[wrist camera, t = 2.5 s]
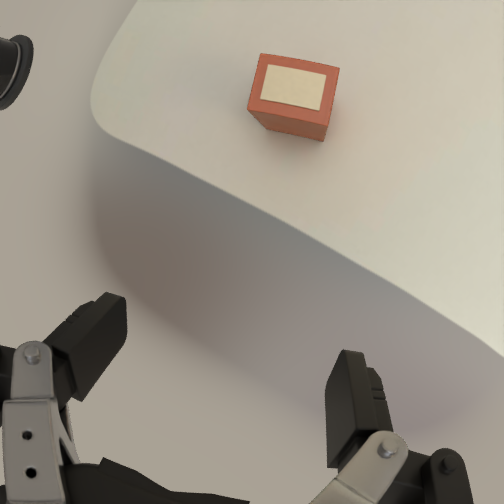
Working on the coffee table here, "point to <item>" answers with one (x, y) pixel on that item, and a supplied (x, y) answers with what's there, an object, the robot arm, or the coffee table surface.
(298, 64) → the orange box with label
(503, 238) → the coffee table surface
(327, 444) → the robot arm
